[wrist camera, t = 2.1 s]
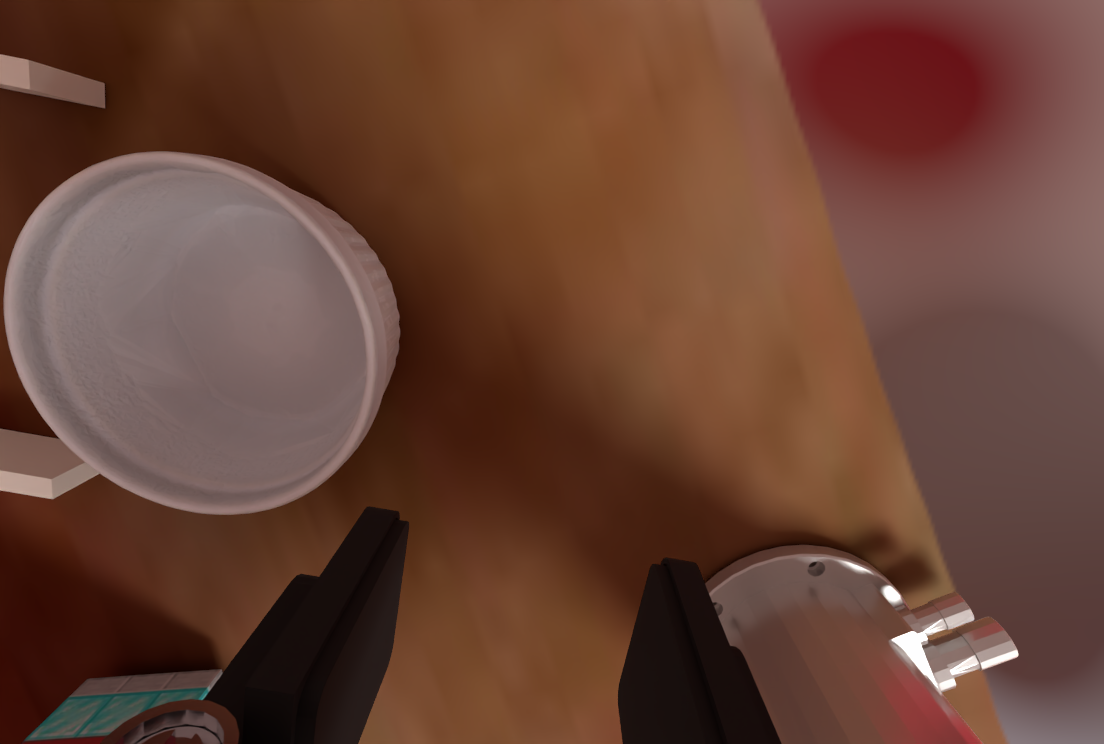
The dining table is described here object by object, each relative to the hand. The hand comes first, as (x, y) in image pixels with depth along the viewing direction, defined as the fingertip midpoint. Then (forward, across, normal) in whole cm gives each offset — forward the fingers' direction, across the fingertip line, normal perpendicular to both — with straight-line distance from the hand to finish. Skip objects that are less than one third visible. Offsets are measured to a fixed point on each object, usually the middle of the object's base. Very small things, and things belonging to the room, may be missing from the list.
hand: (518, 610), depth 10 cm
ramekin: (+18, +12, 0) cm, 22 cm away
